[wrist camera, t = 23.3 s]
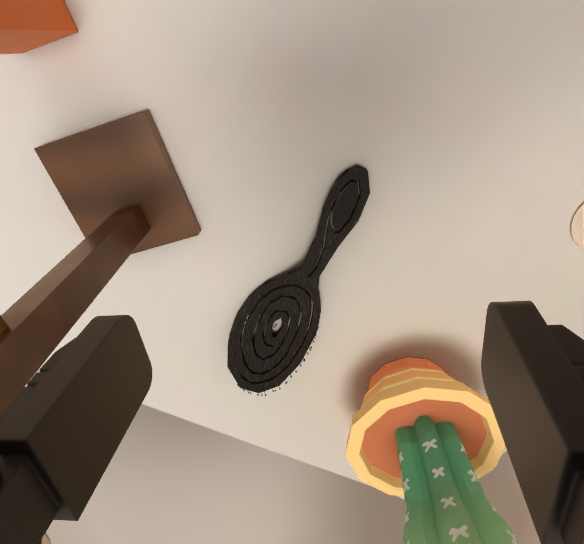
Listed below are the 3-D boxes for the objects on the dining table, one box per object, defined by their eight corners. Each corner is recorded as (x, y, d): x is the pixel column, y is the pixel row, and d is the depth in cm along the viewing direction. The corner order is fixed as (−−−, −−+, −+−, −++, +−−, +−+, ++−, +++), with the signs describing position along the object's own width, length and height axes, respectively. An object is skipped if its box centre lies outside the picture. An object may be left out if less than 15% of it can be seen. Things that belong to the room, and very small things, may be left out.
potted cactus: (387, 454, 54) (447, 743, 32) (310, 379, 48) (318, 667, 26) (503, 397, 49) (669, 691, 27) (432, 307, 43) (568, 584, 21)
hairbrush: (411, 195, 35) (283, 409, 45) (401, 184, 38) (284, 386, 48) (319, 151, 33) (208, 383, 43) (317, 143, 37) (214, 360, 47)
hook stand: (20, 108, 35) (-454, 224, 13) (131, 69, 34) (-196, 124, 12) (104, 257, 41) (-120, 505, 19) (201, 229, 40) (77, 464, 18)
